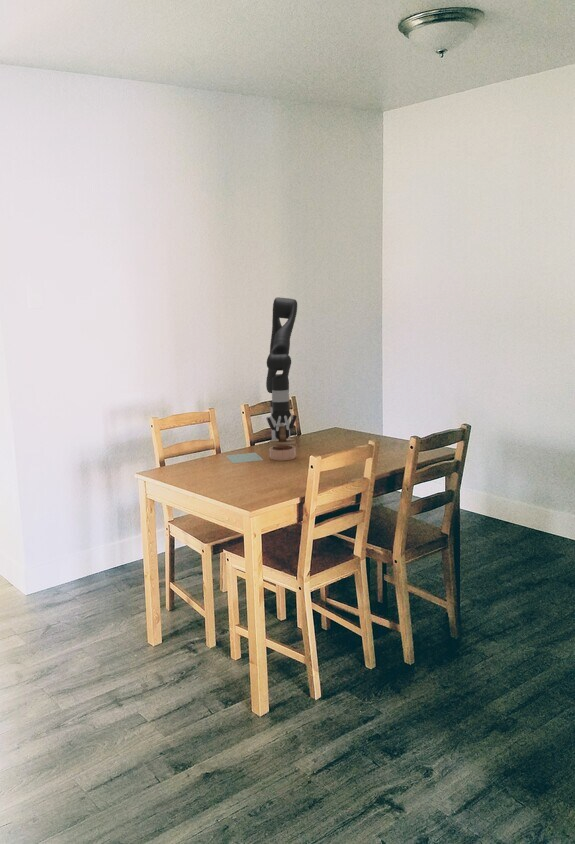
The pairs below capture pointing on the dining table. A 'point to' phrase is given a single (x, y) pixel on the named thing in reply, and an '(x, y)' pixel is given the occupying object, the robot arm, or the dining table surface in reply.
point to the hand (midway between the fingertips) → (282, 438)
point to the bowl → (282, 452)
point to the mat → (244, 457)
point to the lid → (282, 438)
